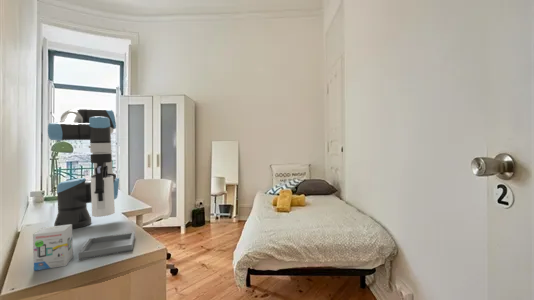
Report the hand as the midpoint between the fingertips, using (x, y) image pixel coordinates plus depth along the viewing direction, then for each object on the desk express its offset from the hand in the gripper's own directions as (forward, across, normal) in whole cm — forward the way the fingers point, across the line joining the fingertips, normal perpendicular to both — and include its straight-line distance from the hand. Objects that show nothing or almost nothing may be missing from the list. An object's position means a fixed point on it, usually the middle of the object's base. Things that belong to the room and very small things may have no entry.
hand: (103, 206), depth 112 cm
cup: (+4, 0, 0) cm, 4 cm away
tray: (+13, +16, +4) cm, 21 cm away
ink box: (+13, +23, -11) cm, 29 cm away
